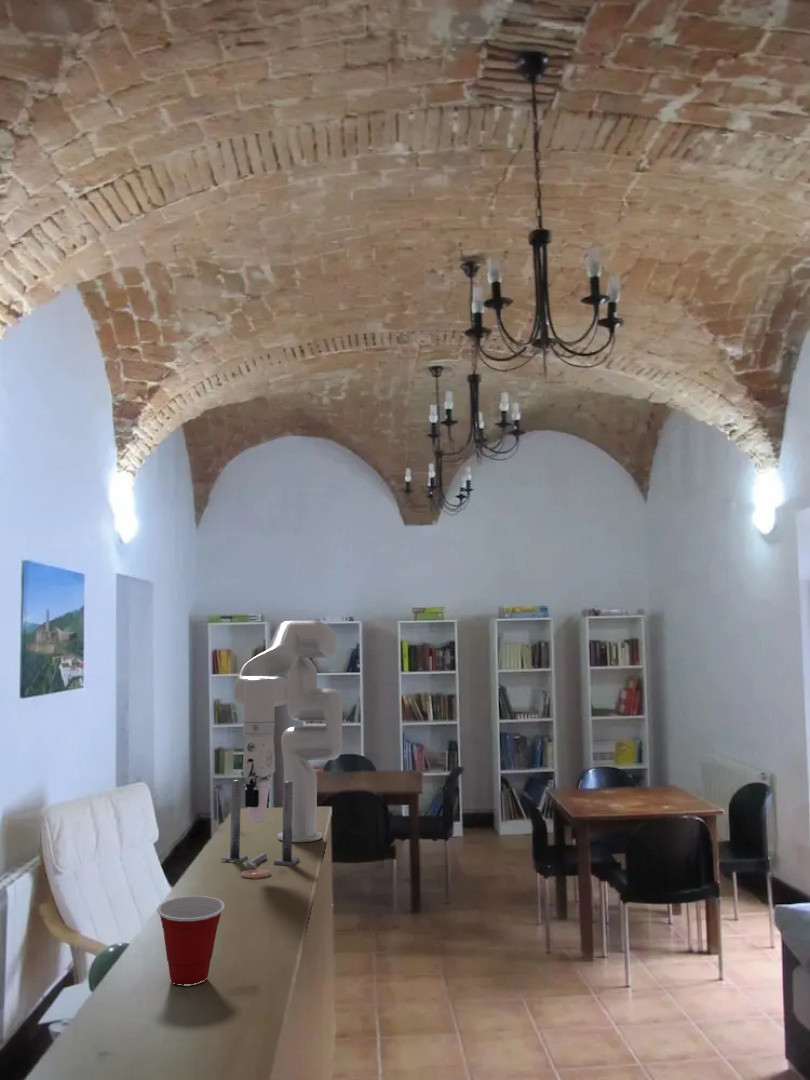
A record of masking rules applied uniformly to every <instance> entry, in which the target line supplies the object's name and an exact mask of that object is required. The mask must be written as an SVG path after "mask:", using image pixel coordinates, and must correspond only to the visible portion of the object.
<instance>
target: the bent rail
mask: <svg viewBox="0 0 810 1080" xmlns="http://www.w3.org/2000/svg"><path fill="white" fill-rule="evenodd" d="M267 855H268V853H267V852H262V853H260V854H258V855H257V856H255V857H253V858H251V859H250V860H248V861H247V862H246V869H247V870H248V869H249V870H251V869H258V868H257V864H258V865H260V864H261V863H263V862H264V861H266V860H267V859H268V858H267ZM265 859H266V860H265Z"/></svg>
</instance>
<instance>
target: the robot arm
mask: <svg viewBox="0 0 810 1080" xmlns="http://www.w3.org/2000/svg"><path fill="white" fill-rule="evenodd" d="M336 637H337V636H336V634H335V632H334V631H333V629H332V628H331V627H329V625H327V624H325V623H324V622H322V621H320V620H286V621H283V622H281V623H280V624H279V625H278V626H277V627H276V628H275V631H274V634H273V636H272V638H271V641H270V643H269V646H268V647H267V650H265V651H263V652H260V653H259V654H257V655H256V656H253V658H251V659H250V660H248V661H246V663H244V665H242V667H241V669H240V671H239V673H238V675H237V676H236V677H237V678H236V680H235V683H234V686H233V687H234V689H233V698H234V699H235V700H234V701H236V703H237V704H238V705H240V706H243V722H242V724H243V725H242V726H243V727H242V729H243V730H242V736H245V737H244V745H243V759H242V774H243V776H242V777H243V780H244V784H245V785H244V790H245V792H244V793H245V796H244V798H245V800H244V804H245V805H244V806H245V807H246V808H248V807H258V806H259V790H257V788H258V782H259V777H260V778H261V779H269V780H271V779H270V778H271V776H272V775H273V774H275V772H276V759H275V758H276V754H275V753H276V752H275V739H274V735H275V719H276V717H275V716H276V714H275V712H276V711H275V710H276V709H275V708H276V707H282V706H284V705H286V704H287V713H288V714H287V715H288V717H289V719H291V720H293V721H297V722H322V723H324V724H325V726H321V725H320V726H317V725H316V726H314V725H295V726H291V727H288V728H286V729H285V730H284V731H283V733H282V734H281V741H280V744H281V745H280V746H281V751H282V759H283V760H282V761H283V782H286V781H292V782H293V802H292V843H307V842H315V841H318V840H320V839H322V836H323V834H322V832H320V831H317V823H318V822H317V814H318V813H317V811H318V810H317V808H318V807H317V805H318V804H317V800H318V799H317V795H318V775H317V772H316V770H315V768H314V766H313V765H312V764H311V763H310V761H334V760H336V759H338V758H339V757H340V755H341V754H342V748H343V745H342V744H343V700H342V697H341V693H340V692H339V691H338V690H337V689H334V688H328V687H327V688H326V687H325V688H324V687H322V688H320V687H318V670H317V668H316V666H315V665H314V663H313V661H312V660H311V659H313V658H314V659H327V658H331V657H333V655H334V653H336V649H337V638H336ZM286 673H287V678H285V676H284V677H283V676H280V675H284V674H286ZM253 780H255V783H254V781H253ZM270 786H271V785H270ZM270 786H269V790H270ZM268 803H270V792H269V793H268V800H267V804H268ZM282 836H283V831H282V832H279V833H278V834H277V840H278V841H281V840H282Z"/></svg>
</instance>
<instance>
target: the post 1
mask: <svg viewBox="0 0 810 1080" xmlns="http://www.w3.org/2000/svg"><path fill="white" fill-rule="evenodd" d="M230 798H231V801H230V803H231V804H230V840H229V843H230V844H229V847H230V848H229V849H230V850H229V854H227V855H226V856H224V857H222V858H221V861H222V860H225V861H234V862H233V863H236V862H240V863H242V862H244V861H245V860H244V859H246V858H247V859H248V854H241V853H240V852H241V851H240V850H241V849H240V848H241V847H240V845H241V810H242V809H241V808H242V807H241V805H242V804H241V803H242V799H241V798H242V780H241V779H233V780H231V795H230ZM247 859H246V860H247ZM243 860H244V861H243ZM241 861H242V862H241Z"/></svg>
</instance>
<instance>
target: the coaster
mask: <svg viewBox="0 0 810 1080" xmlns="http://www.w3.org/2000/svg"><path fill="white" fill-rule="evenodd" d="M271 873H272V872H271V870H269V869H263V868H256V869H251V870H248V869H247V870H243V871H241V873H240V877H241V878H244V877H246V878H245V879H249V878H253V879H265V878H268V876H269V877H270V876H271ZM264 877H265V878H264ZM253 879H252V880H253Z"/></svg>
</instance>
